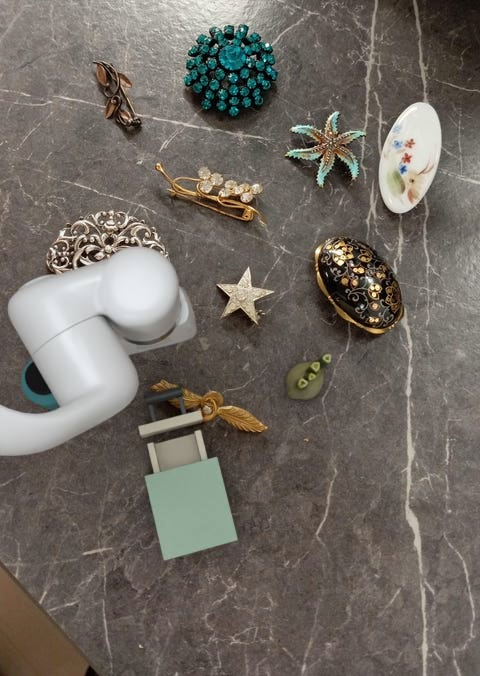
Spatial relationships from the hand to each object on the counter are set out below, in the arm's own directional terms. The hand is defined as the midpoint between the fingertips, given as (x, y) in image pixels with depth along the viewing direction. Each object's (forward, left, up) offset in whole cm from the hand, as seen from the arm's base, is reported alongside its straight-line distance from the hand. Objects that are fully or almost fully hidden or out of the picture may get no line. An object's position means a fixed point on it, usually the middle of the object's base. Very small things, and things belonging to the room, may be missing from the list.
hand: (152, 334), depth 110 cm
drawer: (0, -12, -15) cm, 19 cm away
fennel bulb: (+19, -9, -16) cm, 26 cm away
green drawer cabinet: (0, -21, -16) cm, 26 cm away
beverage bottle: (-13, -2, -16) cm, 21 cm away
